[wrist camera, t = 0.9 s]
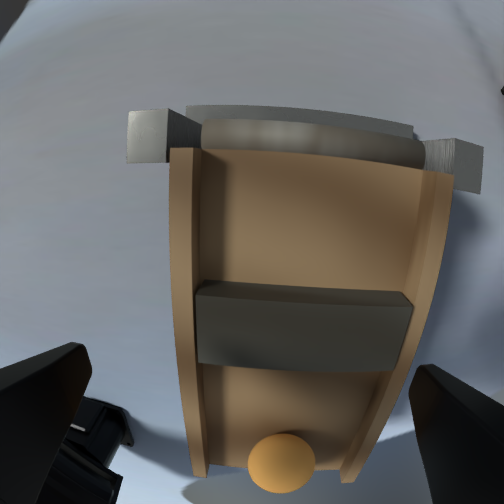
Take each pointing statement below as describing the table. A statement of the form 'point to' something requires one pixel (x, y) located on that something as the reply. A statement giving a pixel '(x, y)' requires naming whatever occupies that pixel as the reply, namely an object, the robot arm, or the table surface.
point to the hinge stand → (189, 128)
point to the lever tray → (299, 284)
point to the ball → (281, 463)
